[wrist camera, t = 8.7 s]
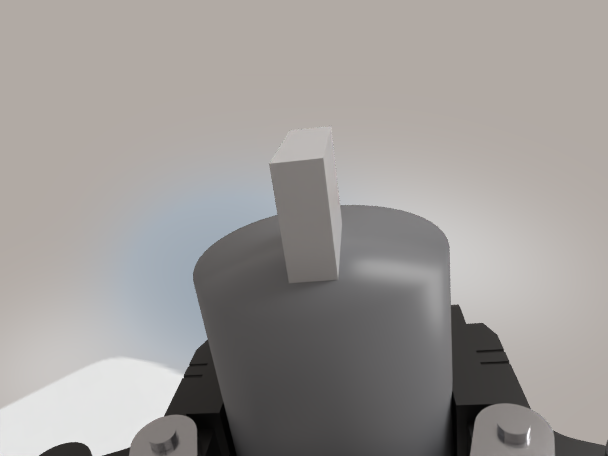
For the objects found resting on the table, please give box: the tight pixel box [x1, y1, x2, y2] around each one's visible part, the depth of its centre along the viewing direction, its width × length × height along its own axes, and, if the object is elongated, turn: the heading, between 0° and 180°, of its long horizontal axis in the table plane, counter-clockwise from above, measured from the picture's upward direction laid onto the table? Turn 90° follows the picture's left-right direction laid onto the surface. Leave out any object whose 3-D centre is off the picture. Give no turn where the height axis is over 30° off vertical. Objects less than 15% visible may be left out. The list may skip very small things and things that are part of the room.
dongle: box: [193, 126, 454, 456], centre depth 10 cm, size 5×5×12 cm
